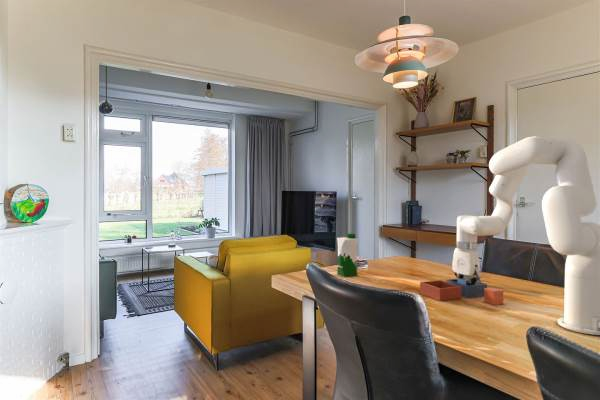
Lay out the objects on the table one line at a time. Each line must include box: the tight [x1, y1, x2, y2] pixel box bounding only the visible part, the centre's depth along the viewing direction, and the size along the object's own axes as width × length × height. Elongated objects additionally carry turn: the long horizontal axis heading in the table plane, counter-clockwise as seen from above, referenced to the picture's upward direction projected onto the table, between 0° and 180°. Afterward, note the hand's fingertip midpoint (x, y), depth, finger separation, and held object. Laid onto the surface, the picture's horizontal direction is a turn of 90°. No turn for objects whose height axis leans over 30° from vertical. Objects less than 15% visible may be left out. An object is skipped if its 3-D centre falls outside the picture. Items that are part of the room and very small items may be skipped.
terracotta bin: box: [419, 279, 462, 302], centre depth 142 cm, size 11×10×4 cm
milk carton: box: [336, 233, 359, 278], centre depth 178 cm, size 9×9×20 cm
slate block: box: [457, 278, 469, 286], centre depth 147 cm, size 4×4×5 cm
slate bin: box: [445, 278, 488, 299], centre depth 146 cm, size 11×10×4 cm
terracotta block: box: [483, 287, 504, 306], centre depth 133 cm, size 4×4×5 cm
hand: (465, 290), depth 147 cm, fingers closed on slate block, 4 cm apart
